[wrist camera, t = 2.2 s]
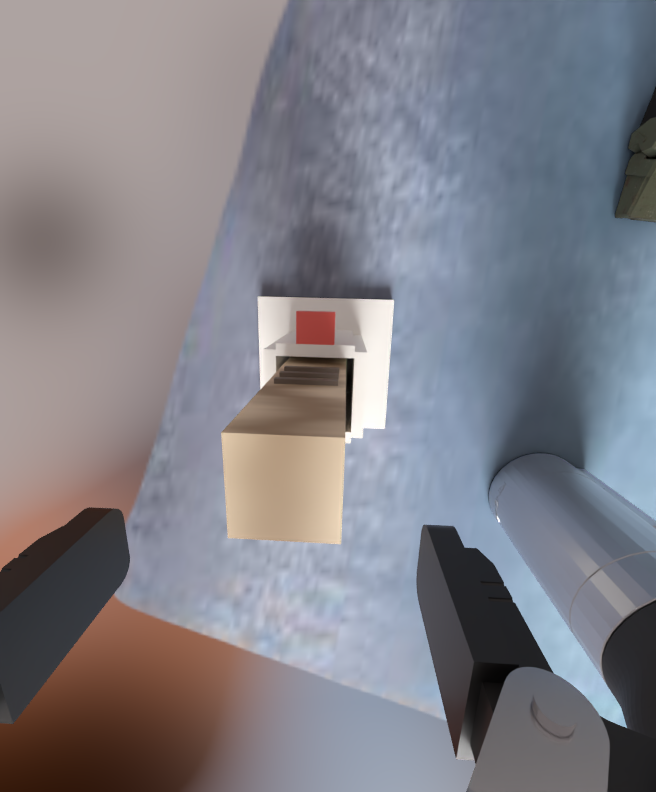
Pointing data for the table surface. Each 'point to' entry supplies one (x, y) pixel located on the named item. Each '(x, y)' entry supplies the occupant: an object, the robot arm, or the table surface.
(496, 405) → the table surface
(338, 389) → the post
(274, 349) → the sleeve stand
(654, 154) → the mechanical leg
